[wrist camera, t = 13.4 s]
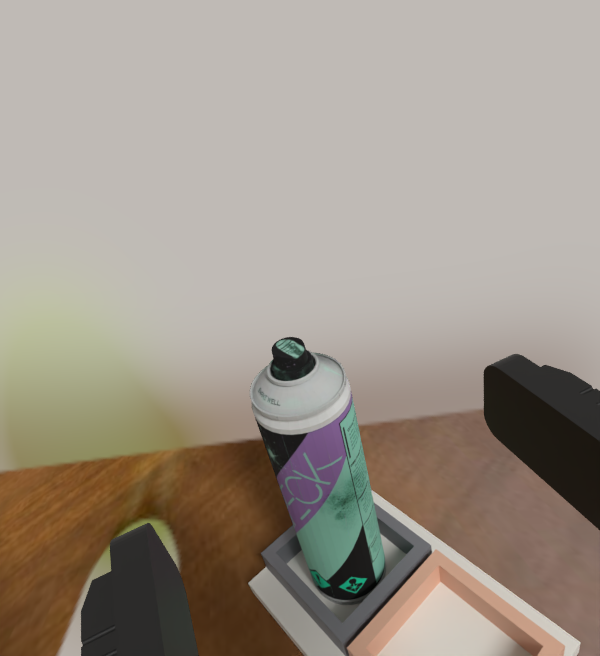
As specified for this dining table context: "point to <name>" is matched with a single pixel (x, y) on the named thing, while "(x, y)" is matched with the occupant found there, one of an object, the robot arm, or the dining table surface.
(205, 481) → the dining table surface
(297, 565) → the board
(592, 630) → the dining table surface
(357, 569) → the spray can
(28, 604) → the dining table surface
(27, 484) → the dining table surface
